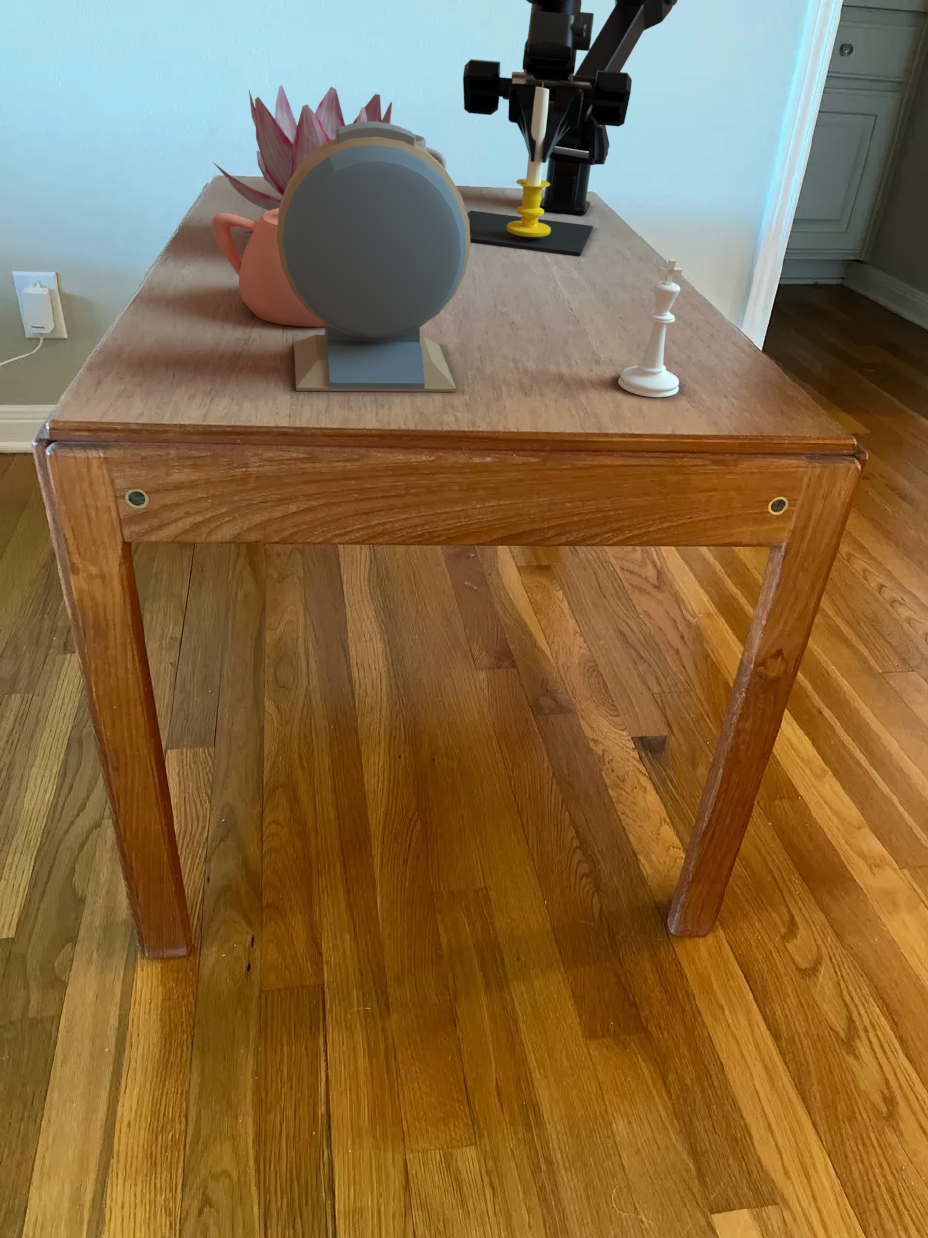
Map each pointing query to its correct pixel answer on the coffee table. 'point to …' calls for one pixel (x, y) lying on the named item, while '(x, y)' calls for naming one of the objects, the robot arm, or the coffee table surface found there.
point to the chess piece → (656, 344)
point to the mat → (558, 241)
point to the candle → (534, 175)
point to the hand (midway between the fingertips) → (538, 159)
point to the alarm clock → (372, 259)
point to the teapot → (262, 270)
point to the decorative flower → (295, 139)
